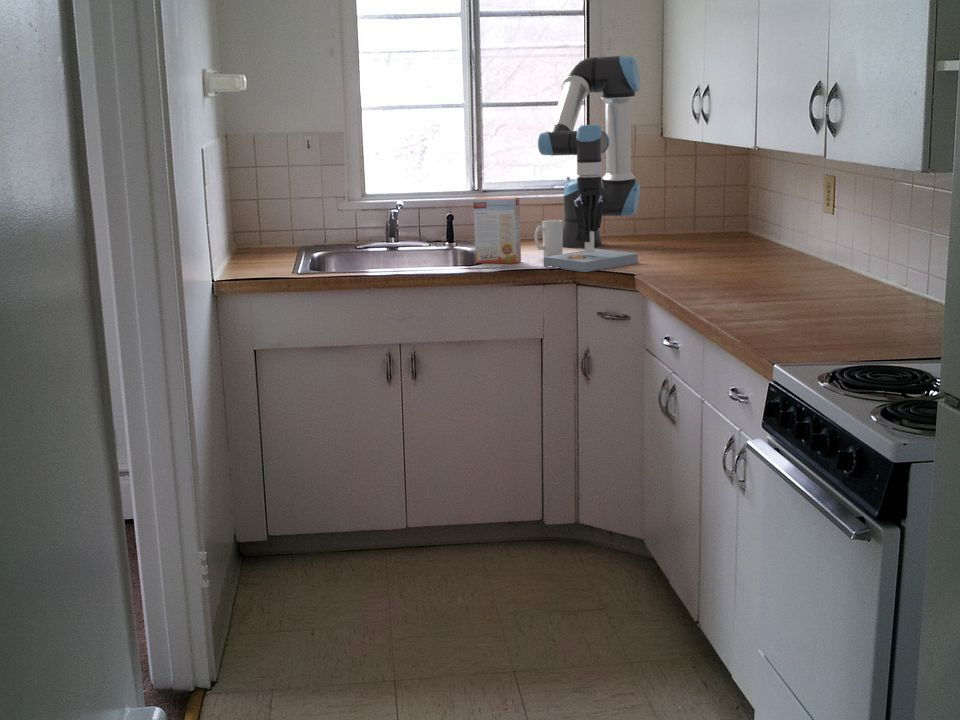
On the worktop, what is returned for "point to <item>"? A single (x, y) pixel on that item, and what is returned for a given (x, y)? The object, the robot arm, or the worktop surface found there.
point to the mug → (550, 237)
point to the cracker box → (497, 230)
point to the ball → (577, 256)
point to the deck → (591, 260)
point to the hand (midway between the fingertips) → (589, 252)
